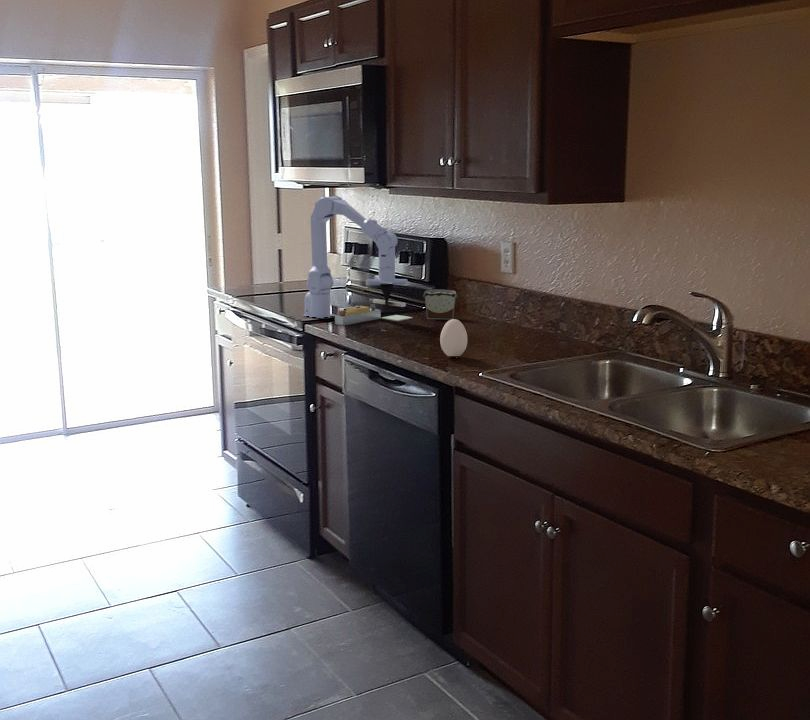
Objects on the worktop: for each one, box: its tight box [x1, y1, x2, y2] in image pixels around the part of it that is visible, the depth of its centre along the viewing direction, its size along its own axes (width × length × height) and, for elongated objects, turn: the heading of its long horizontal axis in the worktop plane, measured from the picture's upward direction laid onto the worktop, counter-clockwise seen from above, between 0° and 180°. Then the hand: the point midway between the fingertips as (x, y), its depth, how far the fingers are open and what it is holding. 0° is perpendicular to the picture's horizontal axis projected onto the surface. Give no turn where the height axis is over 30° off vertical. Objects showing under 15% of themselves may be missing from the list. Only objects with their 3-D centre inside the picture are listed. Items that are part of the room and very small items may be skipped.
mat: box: [381, 314, 413, 322], centre depth 329 cm, size 8×8×1 cm
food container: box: [422, 289, 458, 320], centre depth 330 cm, size 12×6×10 cm, turn 84°
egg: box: [439, 318, 468, 357], centre depth 264 cm, size 8×8×11 cm
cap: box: [345, 305, 371, 314], centre depth 322 cm, size 5×7×2 cm
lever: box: [368, 298, 407, 308], centre depth 323 cm, size 2×16×1 cm, turn 49°
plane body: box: [334, 302, 382, 327], centre depth 323 cm, size 4×19×6 cm, turn 138°
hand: (386, 305), depth 320 cm, fingers closed, pressing on lever
